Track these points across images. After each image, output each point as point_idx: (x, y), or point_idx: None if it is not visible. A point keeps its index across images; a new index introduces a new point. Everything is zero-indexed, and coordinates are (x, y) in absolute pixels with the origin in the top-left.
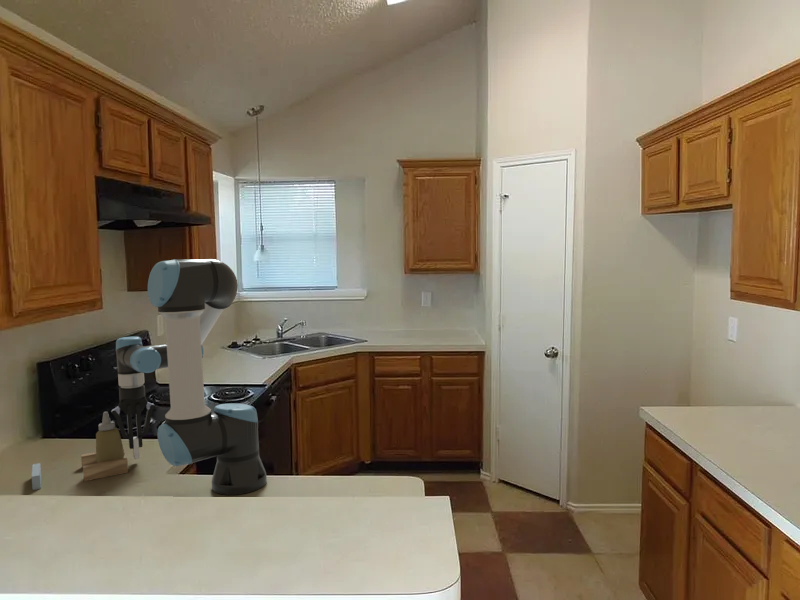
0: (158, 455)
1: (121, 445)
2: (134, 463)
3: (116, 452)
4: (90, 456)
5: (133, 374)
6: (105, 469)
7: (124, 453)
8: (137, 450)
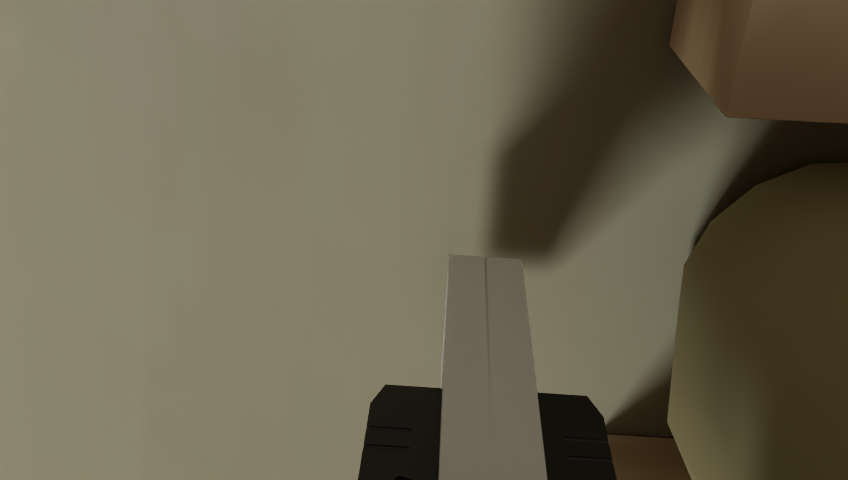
0: (191, 380)
1: (802, 440)
2: None
3: None
4: None
5: None
6: None
7: (679, 364)
8: (473, 335)
